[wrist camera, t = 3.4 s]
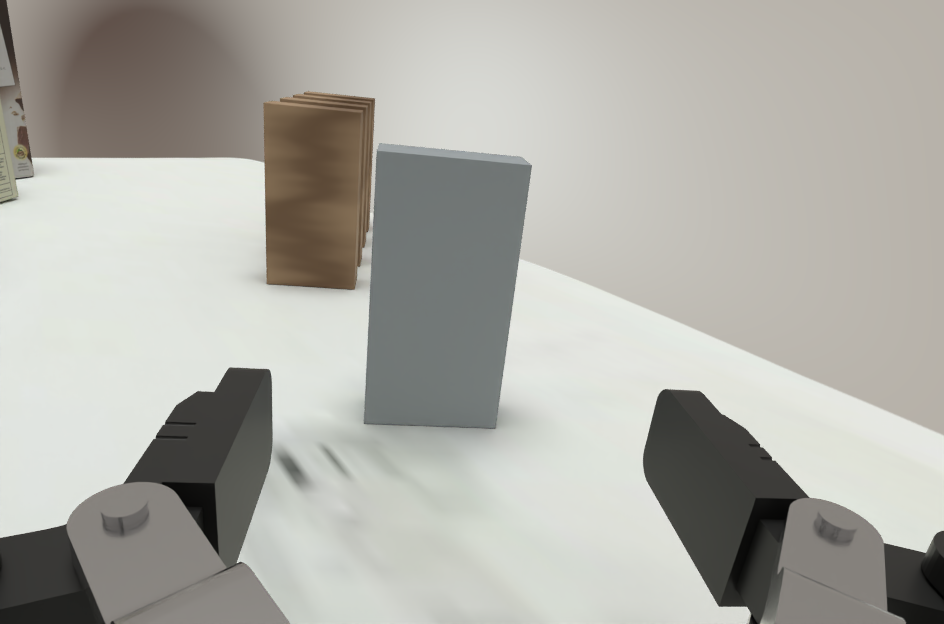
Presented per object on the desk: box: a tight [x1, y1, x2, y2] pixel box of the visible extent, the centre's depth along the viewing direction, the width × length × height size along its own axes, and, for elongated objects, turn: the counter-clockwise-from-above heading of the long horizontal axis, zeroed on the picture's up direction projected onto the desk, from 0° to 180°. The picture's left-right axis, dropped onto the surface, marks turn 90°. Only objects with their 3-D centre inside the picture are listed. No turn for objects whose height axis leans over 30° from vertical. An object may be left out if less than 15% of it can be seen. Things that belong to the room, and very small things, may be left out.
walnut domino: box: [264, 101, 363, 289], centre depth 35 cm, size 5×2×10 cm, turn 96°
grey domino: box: [364, 143, 532, 428], centre depth 22 cm, size 5×2×10 cm, turn 96°
